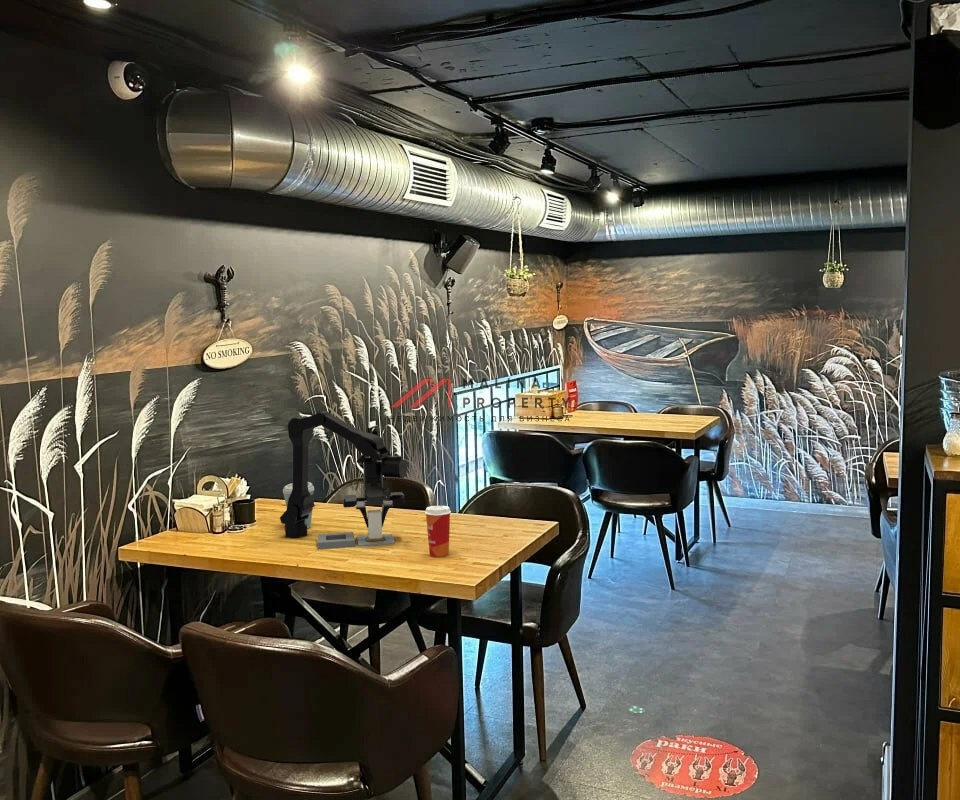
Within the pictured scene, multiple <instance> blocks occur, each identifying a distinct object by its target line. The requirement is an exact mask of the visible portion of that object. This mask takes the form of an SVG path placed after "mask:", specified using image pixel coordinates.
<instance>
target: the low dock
mask: <svg viewBox="0 0 960 800" xmlns="http://www.w3.org/2000/svg"><path fill="white" fill-rule="evenodd" d="M376 539H379V538H373V539H372V540H376ZM381 539H384V540H381V541H367V540H370V539H369V537H368V535H358V536H356V541H357V542H356V543H357V547H358V548H359V547H360V548H361V547H373V546H388V545H396V541H395V538H394V536H393V533H388V534H387V533H384V534H383V533H382V538H381Z"/></svg>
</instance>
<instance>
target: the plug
mask: <svg viewBox="0 0 960 800" xmlns="http://www.w3.org/2000/svg"><path fill="white" fill-rule="evenodd" d="M366 512H367V518H368V528H367V536H368V537H369V539H368V540H374V539H373V538H378V539H383V538H382V535H383V527H382V518H381V512H382V509H369V510H368V509H366Z"/></svg>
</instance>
